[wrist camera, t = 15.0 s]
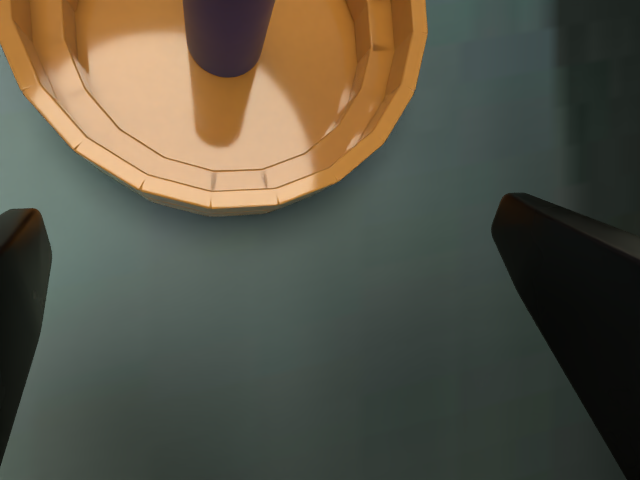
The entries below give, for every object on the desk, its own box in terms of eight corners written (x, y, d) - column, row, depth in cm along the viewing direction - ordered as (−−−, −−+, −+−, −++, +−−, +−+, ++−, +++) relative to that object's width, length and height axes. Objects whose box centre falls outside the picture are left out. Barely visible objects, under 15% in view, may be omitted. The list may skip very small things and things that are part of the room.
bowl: (396, 206, 21) (441, 196, 17) (49, 227, 18) (2, 220, 14) (372, -105, 21) (411, -189, 17) (23, -141, 18) (-31, -255, 14)
